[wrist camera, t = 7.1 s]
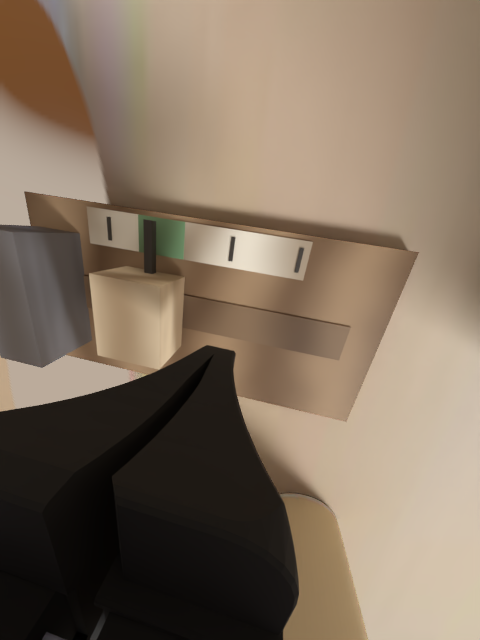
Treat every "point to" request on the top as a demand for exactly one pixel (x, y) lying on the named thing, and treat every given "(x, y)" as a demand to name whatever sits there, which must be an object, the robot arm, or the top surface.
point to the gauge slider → (138, 310)
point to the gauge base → (207, 296)
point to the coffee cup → (321, 576)
